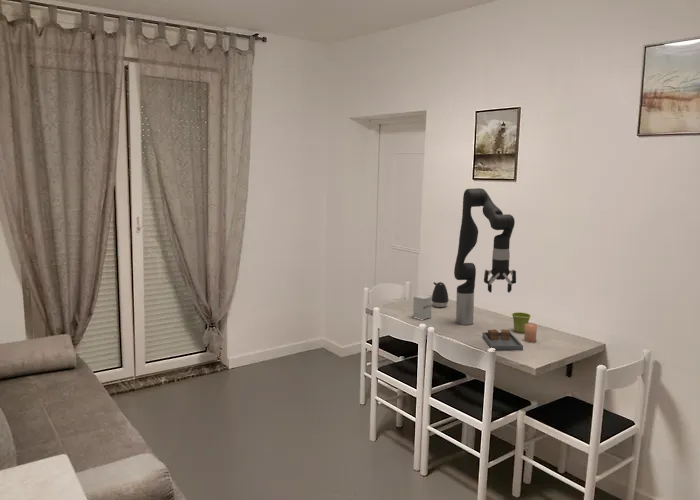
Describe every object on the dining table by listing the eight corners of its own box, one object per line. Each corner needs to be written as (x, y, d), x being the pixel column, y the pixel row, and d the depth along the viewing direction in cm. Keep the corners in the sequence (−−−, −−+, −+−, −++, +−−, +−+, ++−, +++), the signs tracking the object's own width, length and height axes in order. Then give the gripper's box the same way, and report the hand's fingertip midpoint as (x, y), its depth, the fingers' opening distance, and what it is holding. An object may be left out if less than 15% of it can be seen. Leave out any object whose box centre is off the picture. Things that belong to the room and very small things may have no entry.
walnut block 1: (487, 337, 262) (487, 329, 261) (495, 337, 263) (495, 329, 262) (490, 340, 258) (491, 332, 257) (498, 339, 259) (498, 331, 258)
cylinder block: (522, 338, 262) (523, 323, 261) (533, 338, 262) (534, 323, 261) (526, 342, 257) (527, 326, 255) (537, 342, 257) (538, 326, 255)
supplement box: (422, 320, 293) (422, 298, 291) (412, 318, 299) (413, 296, 297) (431, 318, 298) (431, 296, 296) (421, 315, 303) (422, 294, 301)
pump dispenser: (438, 303, 330) (439, 279, 327) (451, 306, 322) (452, 282, 320) (427, 306, 323) (428, 282, 321) (440, 309, 316) (441, 284, 313)
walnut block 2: (500, 337, 263) (501, 329, 262) (509, 337, 262) (509, 329, 261) (501, 339, 259) (501, 331, 258) (509, 340, 258) (509, 332, 257)
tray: (482, 336, 265) (482, 332, 265) (510, 336, 265) (510, 332, 265) (492, 350, 246) (493, 345, 245) (522, 350, 246) (523, 345, 245)
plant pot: (531, 329, 276) (532, 313, 274) (527, 334, 268) (528, 318, 266) (513, 327, 280) (514, 311, 279) (509, 332, 272) (509, 315, 271)
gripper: (514, 256, 245) (512, 290, 248) (483, 256, 246) (482, 290, 249) (518, 259, 238) (517, 294, 241) (487, 259, 238) (485, 294, 241)
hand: (499, 292), depth 245 cm, fingers open, 8 cm apart
